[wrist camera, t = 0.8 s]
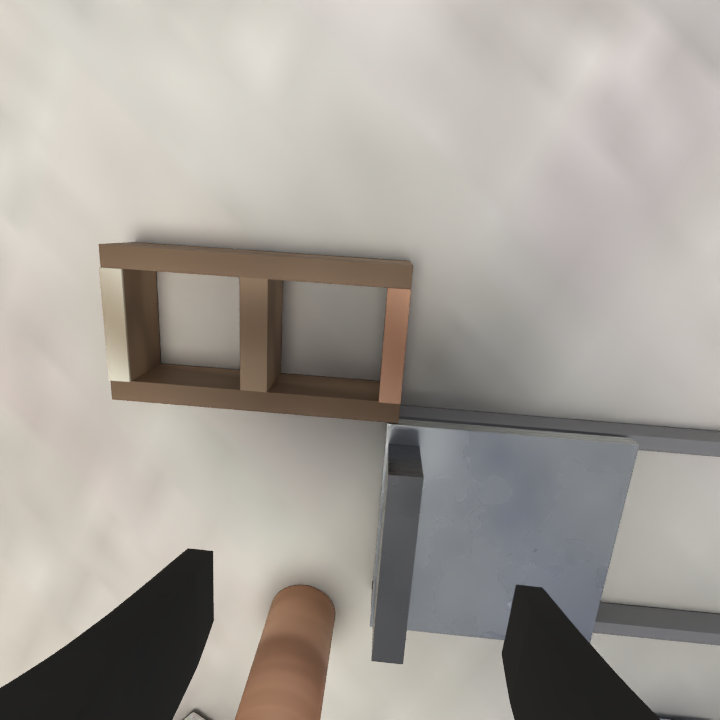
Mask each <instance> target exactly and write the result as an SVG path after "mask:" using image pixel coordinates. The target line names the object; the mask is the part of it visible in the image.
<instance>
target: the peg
mask: <svg viewBox="0 0 720 720" xmlns="http://www.w3.org/2000/svg"><path fill="white" fill-rule="evenodd" d="M334 620H335V609H334V606H333V603H332V601H331V600H330V599H329V597H328V596H327V595H326V594H324V593H323V592H322V591H320V590H318V589H316V588H314V587H311V586H306V585H294V586H290V587H287V588H285V589H283V590H281V591H280V592H279V593H278V594H277V595H276V596H275V597H274V599H273V601H272V604H271V607H270V611H269V614H268V617H267V620H266V623H265V626H264V629H263V633H262V636H261V639H260V642H259V645H258V648H257V651H256V655H255V658H254V661H253V664H252V667H251V670H250V673H249V677H248V680H247V683H246V686H245V689H244V692H243V695H242V699H241V702H240V705H239V708H238V711H237V714H236V718H235V720H320V717H321V710H322V703H323V696H324V689H325V682H326V675H327V668H328V661H329V654H330V647H331V640H332V634H333V627H334Z"/></svg>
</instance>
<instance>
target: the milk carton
mask: <svg viewBox="0 0 720 720" xmlns="http://www.w3.org/2000/svg"><path fill="white" fill-rule="evenodd" d="M184 720H205V719H204V718H202V717H201V716H199V715H198V714H196V713H194V712H193V713H191V714H190V715H189V716H188V717H186V718H185V719H184Z"/></svg>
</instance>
